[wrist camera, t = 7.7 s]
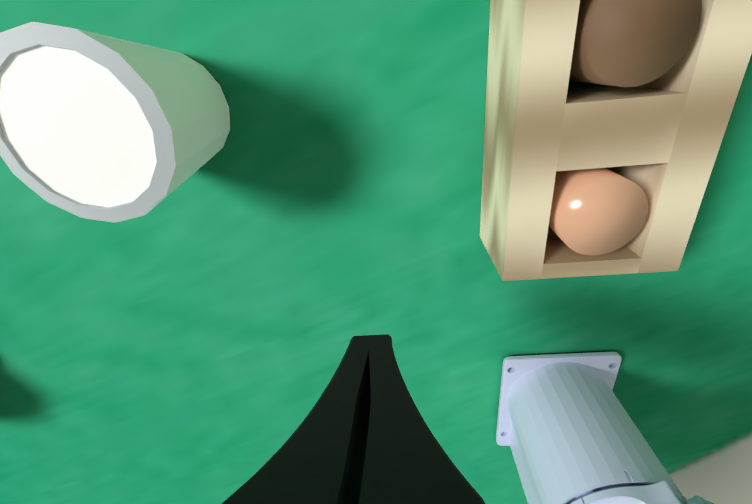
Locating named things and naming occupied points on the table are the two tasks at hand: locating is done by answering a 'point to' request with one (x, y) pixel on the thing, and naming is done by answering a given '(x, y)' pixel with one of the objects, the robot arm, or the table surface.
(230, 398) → the table surface
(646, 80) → the walnut peg
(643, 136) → the maple block
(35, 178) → the white cup
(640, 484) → the robot arm
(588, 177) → the terracotta peg
